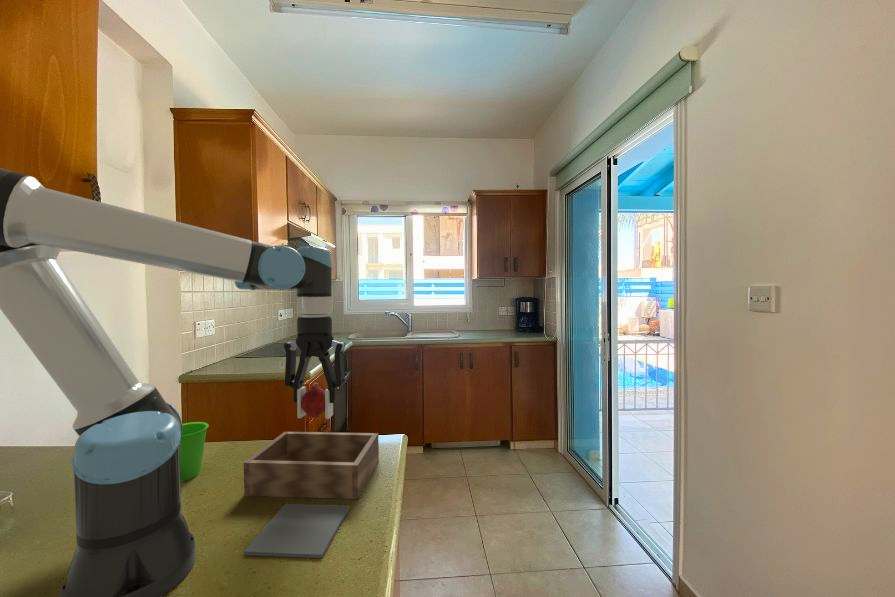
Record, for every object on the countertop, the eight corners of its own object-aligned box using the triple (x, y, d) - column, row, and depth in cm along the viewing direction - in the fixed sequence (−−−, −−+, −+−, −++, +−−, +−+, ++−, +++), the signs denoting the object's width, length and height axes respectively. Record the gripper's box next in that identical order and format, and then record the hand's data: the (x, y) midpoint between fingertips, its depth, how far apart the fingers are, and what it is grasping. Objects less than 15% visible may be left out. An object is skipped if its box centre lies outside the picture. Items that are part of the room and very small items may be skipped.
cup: (214, 463, 89) (213, 419, 89) (202, 482, 81) (201, 433, 80) (171, 469, 86) (170, 424, 86) (154, 489, 78) (152, 439, 77)
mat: (244, 555, 58) (244, 551, 58) (285, 506, 71) (285, 503, 71) (321, 558, 57) (321, 554, 57) (349, 508, 70) (349, 505, 70)
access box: (244, 495, 75) (243, 462, 75) (284, 458, 91) (284, 431, 91) (358, 498, 73) (357, 465, 73) (378, 460, 90) (378, 433, 90)
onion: (323, 422, 79) (322, 386, 79) (297, 422, 79) (296, 386, 79) (332, 413, 85) (331, 380, 85) (308, 413, 85) (307, 380, 85)
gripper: (360, 314, 85) (360, 411, 85) (283, 314, 86) (284, 410, 86) (349, 316, 77) (350, 423, 78) (265, 316, 78) (266, 421, 79)
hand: (315, 416), depth 82 cm, fingers closed on onion, 6 cm apart
